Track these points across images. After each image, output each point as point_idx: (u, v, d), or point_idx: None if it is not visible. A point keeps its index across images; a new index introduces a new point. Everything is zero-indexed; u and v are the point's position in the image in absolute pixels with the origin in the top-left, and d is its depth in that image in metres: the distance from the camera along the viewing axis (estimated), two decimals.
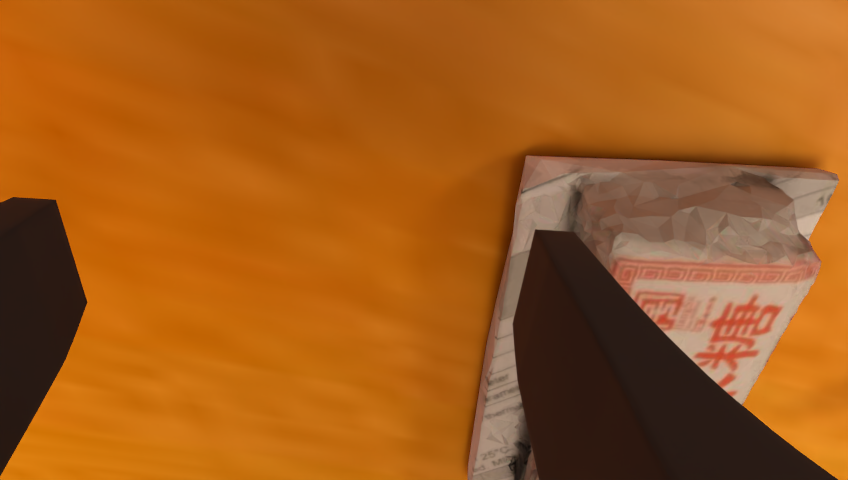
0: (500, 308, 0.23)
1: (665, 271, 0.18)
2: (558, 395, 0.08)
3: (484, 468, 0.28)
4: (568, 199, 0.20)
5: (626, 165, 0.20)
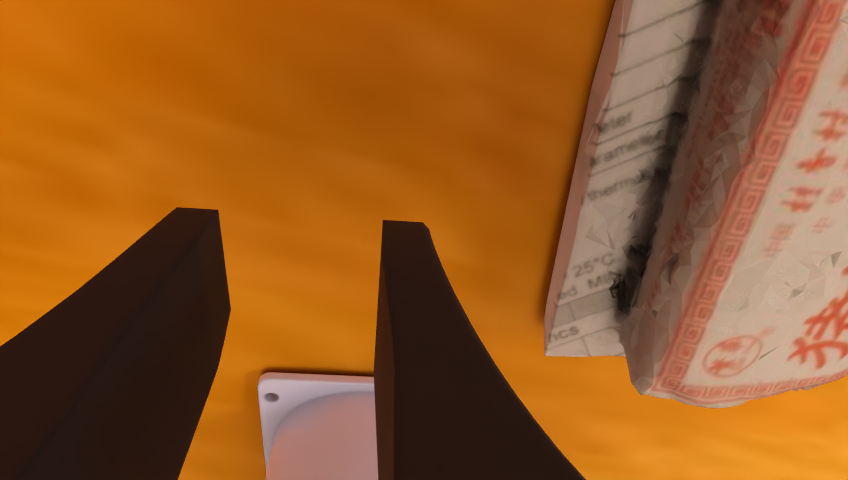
0: None
1: None
2: (382, 387, 0.08)
3: (575, 291, 0.20)
4: None
5: None
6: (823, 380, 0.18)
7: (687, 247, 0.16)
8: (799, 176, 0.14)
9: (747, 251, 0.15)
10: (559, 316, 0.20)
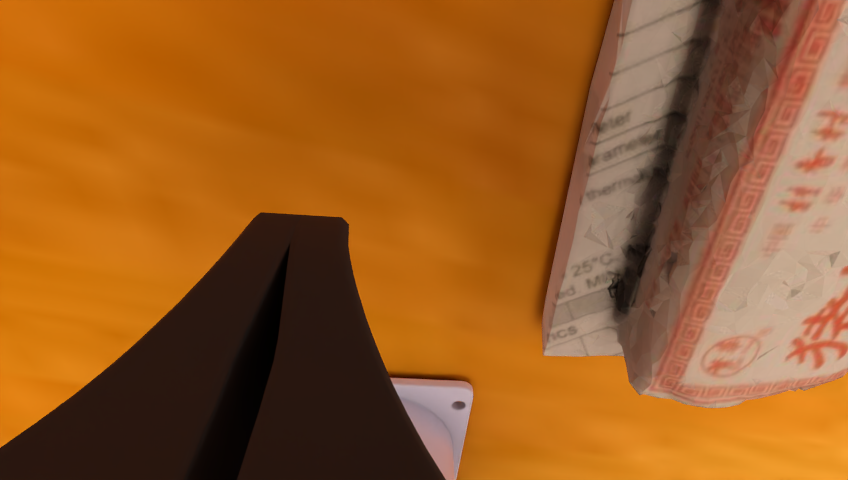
0: None
1: None
2: None
3: (574, 291, 0.20)
4: None
5: None
6: (821, 380, 0.18)
7: (686, 247, 0.16)
8: (797, 176, 0.14)
9: (746, 251, 0.15)
10: (557, 315, 0.20)
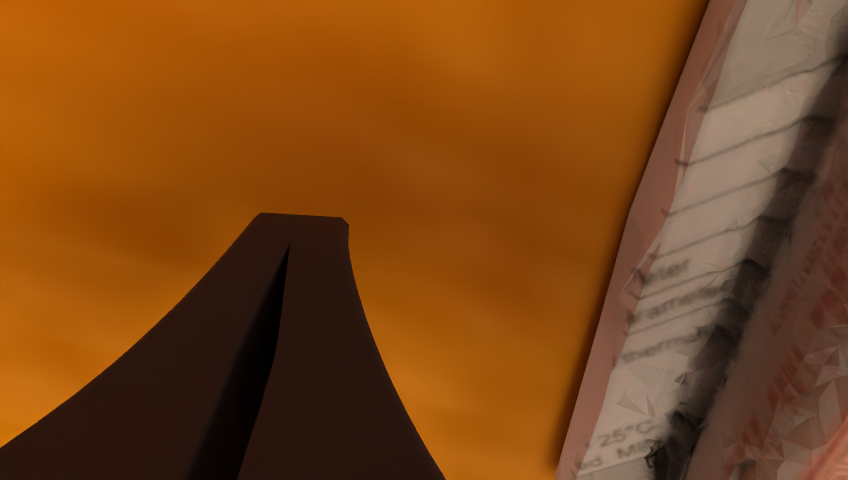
0: (709, 80, 0.10)
1: None
2: None
3: (601, 462, 0.15)
4: None
5: None
6: None
7: (772, 462, 0.11)
8: None
9: None
10: None
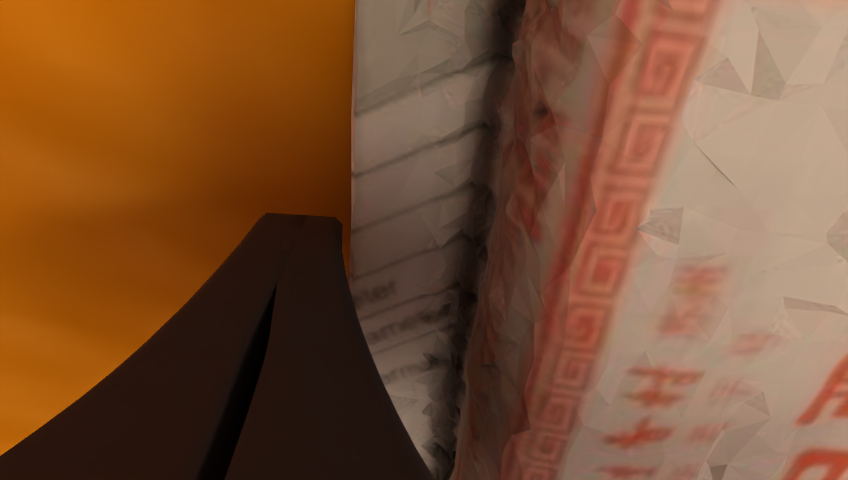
0: (354, 80, 0.08)
1: None
2: None
3: None
4: None
5: None
6: None
7: None
8: (612, 453, 0.08)
9: None
10: None
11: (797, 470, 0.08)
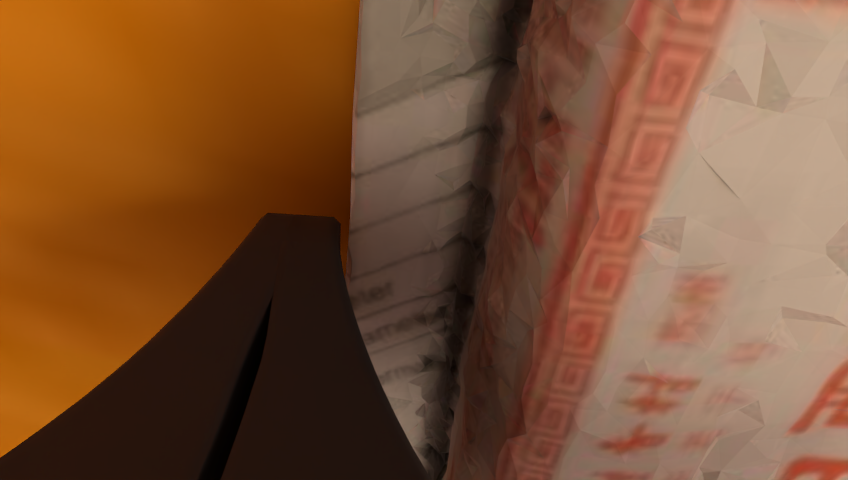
0: (357, 81, 0.08)
1: None
2: None
3: None
4: None
5: None
6: None
7: None
8: (606, 457, 0.08)
9: None
10: None
11: (789, 477, 0.08)
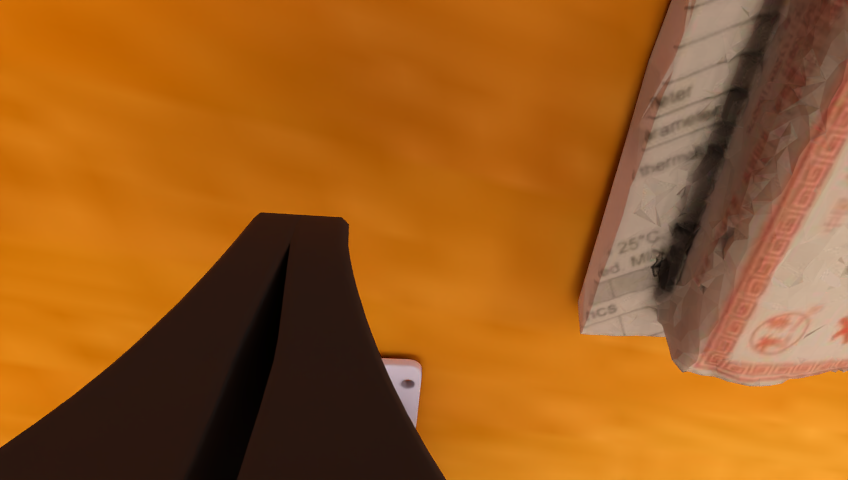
0: None
1: None
2: None
3: (618, 269, 0.20)
4: None
5: None
6: None
7: (746, 221, 0.16)
8: None
9: (807, 225, 0.15)
10: (599, 293, 0.20)
11: None
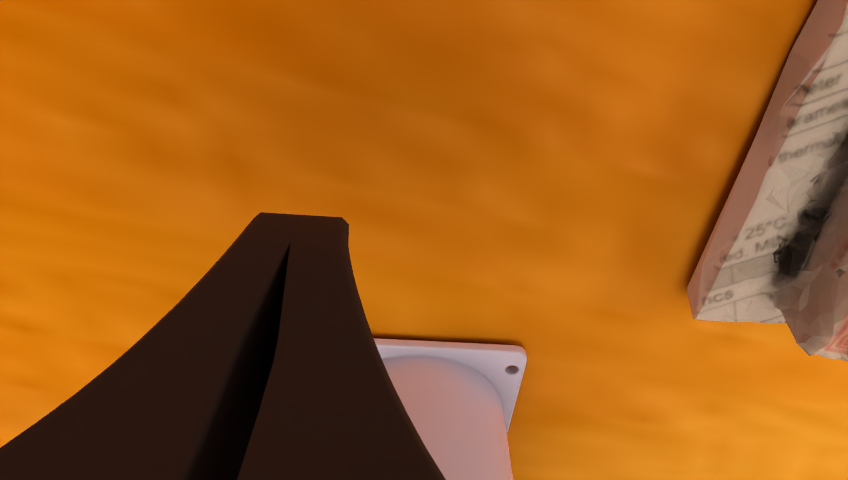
0: None
1: None
2: None
3: (741, 255, 0.20)
4: None
5: None
6: None
7: None
8: None
9: None
10: (719, 278, 0.21)
11: None
